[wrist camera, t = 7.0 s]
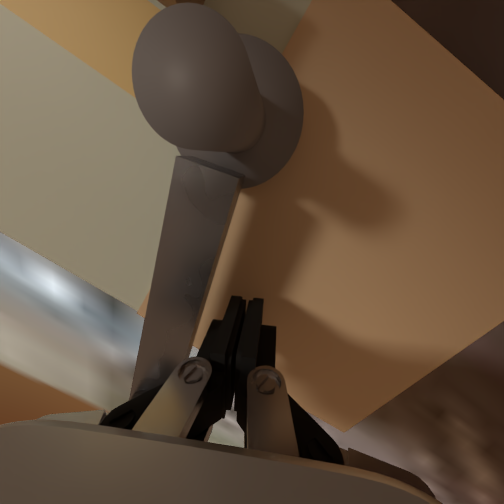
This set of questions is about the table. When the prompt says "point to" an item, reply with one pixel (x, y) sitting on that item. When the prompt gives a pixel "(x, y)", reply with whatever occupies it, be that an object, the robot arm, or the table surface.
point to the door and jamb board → (267, 173)
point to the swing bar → (184, 265)
